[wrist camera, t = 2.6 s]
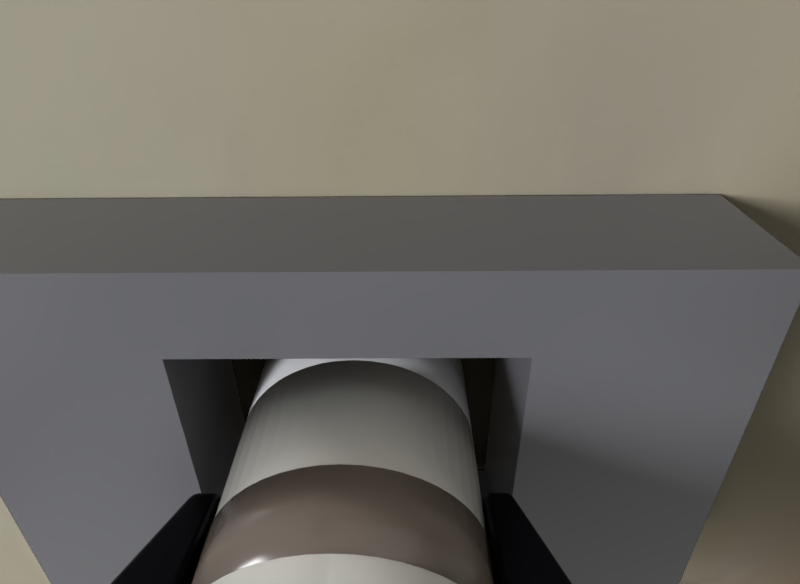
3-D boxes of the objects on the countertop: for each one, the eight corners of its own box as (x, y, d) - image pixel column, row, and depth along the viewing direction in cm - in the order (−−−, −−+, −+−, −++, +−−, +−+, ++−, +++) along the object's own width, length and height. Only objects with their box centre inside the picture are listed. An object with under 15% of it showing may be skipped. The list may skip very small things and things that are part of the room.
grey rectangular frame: (720, 194, 9) (814, 269, 7) (623, 510, 13) (664, 616, 11) (-7, 199, 9) (-127, 274, 7) (121, 511, 14) (69, 616, 11)
